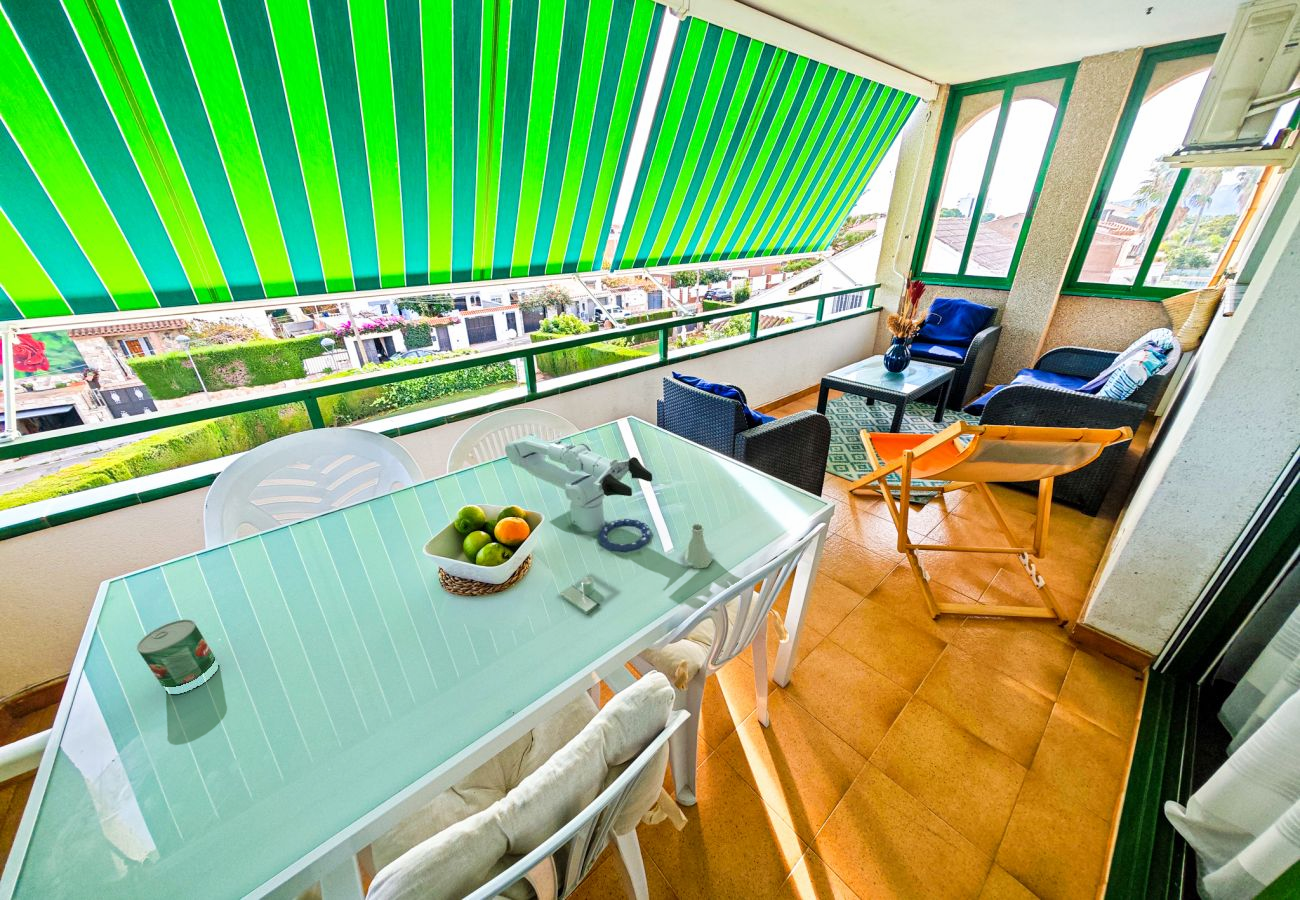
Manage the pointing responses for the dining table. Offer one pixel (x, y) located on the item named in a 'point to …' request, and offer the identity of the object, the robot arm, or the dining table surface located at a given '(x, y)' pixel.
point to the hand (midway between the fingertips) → (641, 484)
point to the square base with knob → (581, 596)
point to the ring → (624, 547)
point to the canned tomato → (176, 653)
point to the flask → (697, 548)
